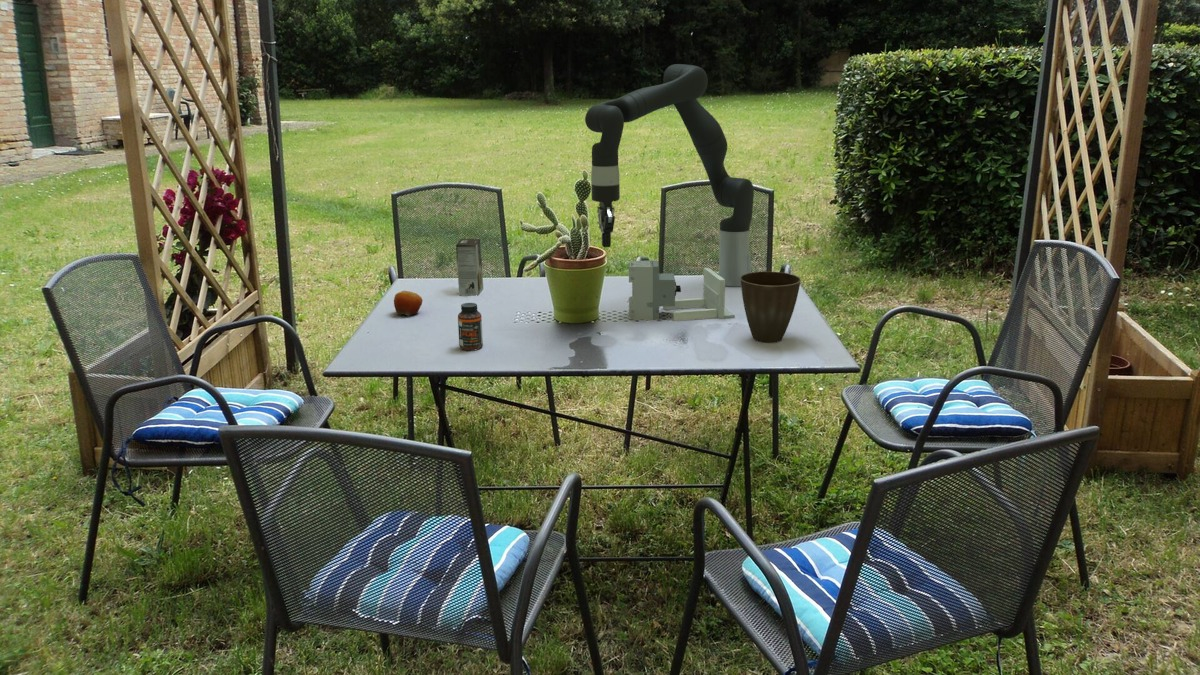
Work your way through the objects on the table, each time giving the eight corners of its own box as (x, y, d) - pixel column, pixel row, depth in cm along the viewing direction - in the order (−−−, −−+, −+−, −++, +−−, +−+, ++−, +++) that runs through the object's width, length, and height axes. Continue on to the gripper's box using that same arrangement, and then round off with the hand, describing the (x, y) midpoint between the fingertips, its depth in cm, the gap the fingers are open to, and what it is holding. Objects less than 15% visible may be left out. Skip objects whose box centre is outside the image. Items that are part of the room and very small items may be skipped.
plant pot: (806, 335, 239) (810, 275, 234) (783, 351, 227) (786, 288, 222) (753, 327, 247) (755, 268, 242) (728, 341, 235) (730, 280, 230)
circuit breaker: (681, 319, 255) (681, 266, 251) (629, 319, 256) (628, 266, 251) (679, 311, 263) (679, 260, 258) (629, 312, 263) (628, 260, 258)
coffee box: (463, 288, 293) (460, 238, 288) (483, 288, 293) (481, 238, 288) (458, 296, 284) (455, 244, 279) (479, 295, 284) (476, 244, 279)
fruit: (385, 313, 261) (390, 286, 263) (398, 321, 268) (403, 294, 270) (411, 315, 259) (416, 288, 260) (423, 323, 266) (428, 296, 268)
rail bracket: (718, 304, 270) (718, 267, 267) (734, 317, 256) (735, 279, 252) (661, 307, 267) (662, 270, 264) (675, 322, 253) (675, 282, 250)
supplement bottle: (461, 352, 231) (458, 308, 227) (457, 345, 236) (455, 302, 233) (485, 349, 232) (482, 306, 229) (481, 342, 238) (478, 300, 235)
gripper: (624, 185, 240) (624, 250, 245) (614, 178, 253) (615, 241, 258) (595, 186, 239) (597, 252, 244) (587, 179, 251) (588, 242, 256)
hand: (606, 246), depth 251 cm, fingers closed
